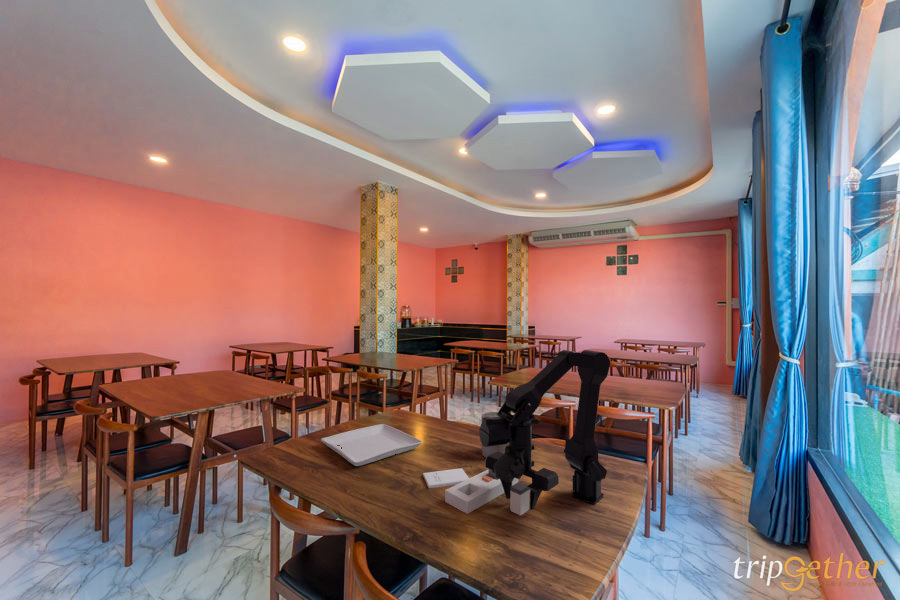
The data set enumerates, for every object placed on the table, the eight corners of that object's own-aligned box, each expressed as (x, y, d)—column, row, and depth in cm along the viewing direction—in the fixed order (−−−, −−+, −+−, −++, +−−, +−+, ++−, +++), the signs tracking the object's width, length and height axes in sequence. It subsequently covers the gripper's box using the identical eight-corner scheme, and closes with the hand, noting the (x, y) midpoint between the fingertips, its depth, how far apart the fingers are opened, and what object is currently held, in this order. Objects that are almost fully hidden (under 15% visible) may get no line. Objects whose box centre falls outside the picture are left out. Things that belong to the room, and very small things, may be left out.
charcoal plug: (505, 484, 104) (505, 464, 104) (496, 489, 101) (496, 468, 101) (497, 481, 106) (497, 460, 106) (488, 486, 103) (488, 464, 104)
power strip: (518, 484, 104) (518, 471, 105) (467, 514, 89) (467, 499, 89) (496, 475, 110) (496, 463, 110) (444, 501, 95) (445, 487, 95)
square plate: (319, 448, 132) (319, 437, 132) (383, 431, 150) (383, 422, 150) (354, 473, 112) (354, 460, 112) (423, 450, 130) (423, 440, 130)
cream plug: (529, 509, 91) (529, 485, 92) (520, 515, 89) (520, 491, 89) (519, 504, 93) (519, 481, 94) (510, 510, 91) (510, 486, 91)
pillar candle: (510, 451, 129) (510, 409, 130) (508, 462, 120) (507, 416, 120) (483, 448, 131) (483, 407, 132) (479, 459, 122) (478, 414, 123)
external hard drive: (470, 485, 105) (428, 490, 102) (461, 472, 113) (422, 477, 110) (470, 479, 105) (428, 484, 102) (461, 467, 113) (422, 472, 110)
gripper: (471, 439, 92) (471, 501, 92) (534, 462, 79) (534, 534, 79) (498, 430, 100) (498, 486, 100) (559, 448, 87) (559, 514, 87)
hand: (519, 503), depth 91 cm, fingers open, 7 cm apart
